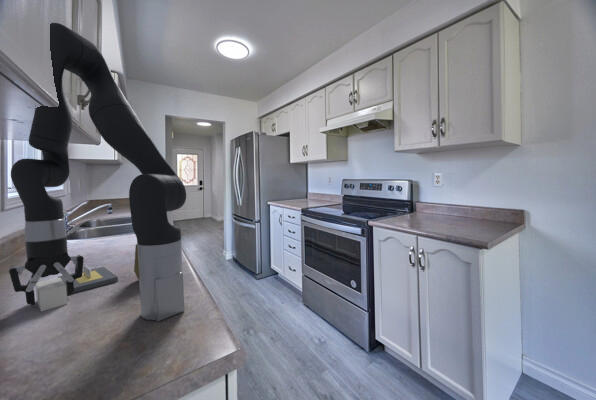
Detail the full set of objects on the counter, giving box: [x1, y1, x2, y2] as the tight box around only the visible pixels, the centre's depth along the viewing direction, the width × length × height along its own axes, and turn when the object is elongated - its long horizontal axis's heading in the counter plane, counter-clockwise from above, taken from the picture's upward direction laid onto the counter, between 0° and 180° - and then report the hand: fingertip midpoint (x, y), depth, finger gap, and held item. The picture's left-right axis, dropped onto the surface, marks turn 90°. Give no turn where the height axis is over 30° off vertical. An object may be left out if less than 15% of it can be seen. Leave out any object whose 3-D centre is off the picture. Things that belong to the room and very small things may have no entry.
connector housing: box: [35, 277, 68, 312], centre depth 66 cm, size 9×5×5 cm, turn 51°
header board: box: [57, 265, 119, 295], centre depth 80 cm, size 16×12×4 cm
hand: (51, 299), depth 66 cm, fingers open, 6 cm apart
